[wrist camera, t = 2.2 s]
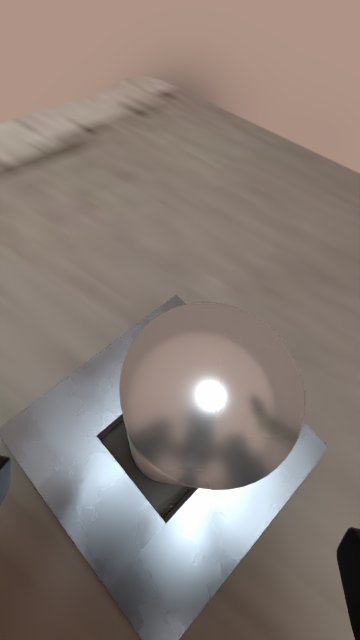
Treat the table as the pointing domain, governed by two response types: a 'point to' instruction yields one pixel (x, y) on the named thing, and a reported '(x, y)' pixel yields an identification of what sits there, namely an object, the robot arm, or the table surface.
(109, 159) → the table surface
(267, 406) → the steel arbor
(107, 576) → the socket block
